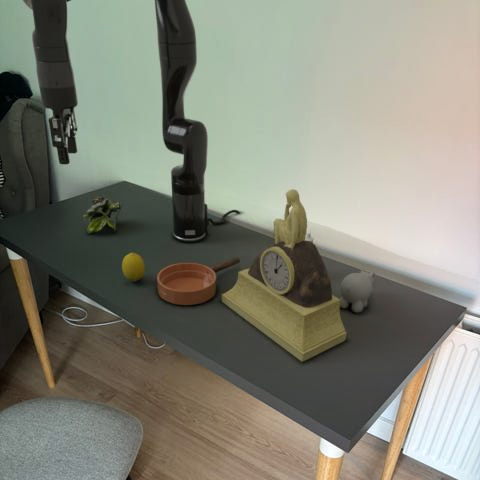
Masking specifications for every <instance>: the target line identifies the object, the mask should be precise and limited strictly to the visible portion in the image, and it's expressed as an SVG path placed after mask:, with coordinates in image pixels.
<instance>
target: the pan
mask: <svg viewBox="0 0 480 480" xmlns="http://www.w3.org/2000/svg"><path fill="white" fill-rule="evenodd" d="M206 271H208V272H209V273H208V274H207V272H206ZM216 273H217V272H216ZM216 273H215V272H214V271H213V270H212V269H211V268H210V267H209V266H207V265H205V264H201V263H197V262H179V263H173V264H170V265H168V266H165V267H164V268H162V269H161V270H160V271H159V272H158V273H157V275H156V276H157V277H156V283H157V293H158V295H159V296H160V297H159V298H161V299H163V300H164V301H166V302H168V303H170V304H173V305H181V306H193V305H198V304H202V303H205V302H207V301H209V300H210V299H212V298H213V297H215V295H216V292H217V274H216Z"/></svg>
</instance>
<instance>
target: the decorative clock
mask: <svg viewBox="0 0 480 480" xmlns="http://www.w3.org/2000/svg"><path fill="white" fill-rule="evenodd" d="M285 196H286V205H285V209H284V214H283V215H284V216H283V217H284V219H283V218H276V219H274V220H273V236H274V240H275V242H274V243H275V244H273V245H272V246H271V247H269V248H266V249H263V251H262V252H260V253H259V254H258V255H256V257H255V258H254V260H253V261H252V263H251V264H250V267H249V268H246V269H242V270H240V271H238V274H237V280H236V283H235V284H234V286H233V287H232V288H231V289H229V290H228V291H226V292H224V293H221V302H222V303H223V304H224V305H226V306H227V307H228V308H230V309H231V310H232V311H234V312H235V313H236V314H237V315H238V316H240V317H242V319H244V320H245V321H246V322H248V323H250V324H251V325H252V326H254V328H255V329H258V330H259V331H260V332H261V333H263V334H264V335H266V336H267V337H268V338H269V339H270V340H272V341H273V342H275V343H276V344H278V345H279V346H280V347H282V348H283V349H284V350H285V351H286V352H288V353H289V354H291V355H292V356H293V357H294V358H296V359H297V360H299V361H300V362H302V363H303V362H305V361H308V360H309V359H311V358H313V357H315V356H318V355H319V354H321V353H323V352H325V351H327V350H329V349H331V348H333V347H336V346H337V345H339V344H341V343H343V342H345V341H346V339H347V335H348V334H347V333H348V332H347V331H346V328H345V325H344V324H343V321H342V318H341V311H340V308H341V307H340V298H339V297H337V296H335V295H334V294H333V291H332V281H331V279H330V276H329V274H328V270H327V267H326V264H325V262H324V260H323V258H322V256H321V254H320V252H319V250H318V249H317V248H318V247H317V246H316V244H315V243H314V242H313V243H312V242H310V241H305V237H307V233H308V231H307V230H308V218H307V212H306V210H305V207H304V205H303V204H302V202H301V200H300V193H299V191H298V190H297V189H294V188H293V189H289V190H288V191H286V192H285ZM290 208H291V209H290Z"/></svg>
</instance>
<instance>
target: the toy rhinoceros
mask: <svg viewBox="0 0 480 480" xmlns="http://www.w3.org/2000/svg"><path fill="white" fill-rule="evenodd" d="M375 273H376V272H368V271H365V269H364V268H363V267H362V268H361V270H360V272H352V273H350V274H348V275H346V276H345V277H344V278H343V279H342V281H341V284H340V293H341V296H340V297H339V299H340V308H341V309H348V308H349V305H351V311H352V312H354V313H355V314H356V313H361V312H362V311H363V310H364V308H366V307H367V306H368V299H369V298H370V296H371V295H372V292H373V286H374V283H375V279H374V277H375Z"/></svg>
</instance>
